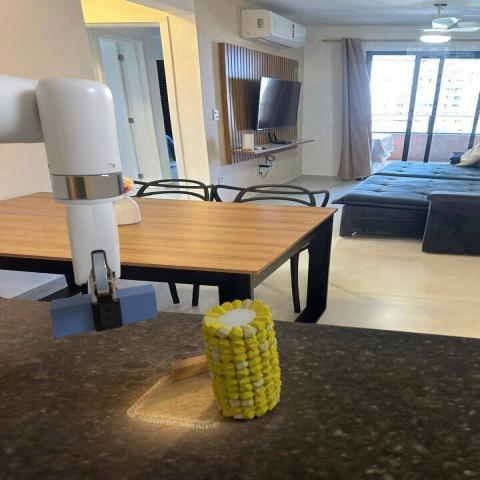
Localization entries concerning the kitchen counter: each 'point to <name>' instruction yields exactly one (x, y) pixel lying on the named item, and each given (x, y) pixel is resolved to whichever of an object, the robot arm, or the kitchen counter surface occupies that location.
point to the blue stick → (81, 317)
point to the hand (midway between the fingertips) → (108, 321)
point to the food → (242, 358)
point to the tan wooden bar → (189, 367)
